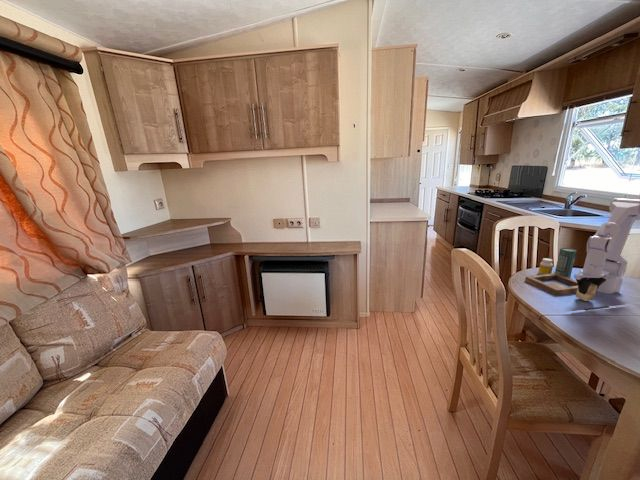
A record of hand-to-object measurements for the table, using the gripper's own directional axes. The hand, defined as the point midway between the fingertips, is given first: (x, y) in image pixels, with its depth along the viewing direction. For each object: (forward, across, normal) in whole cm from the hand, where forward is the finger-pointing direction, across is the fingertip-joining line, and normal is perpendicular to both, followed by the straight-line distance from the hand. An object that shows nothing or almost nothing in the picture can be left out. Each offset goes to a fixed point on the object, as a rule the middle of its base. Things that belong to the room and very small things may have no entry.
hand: (586, 292), depth 113 cm
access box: (+5, -2, -14) cm, 15 cm away
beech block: (+3, 0, 0) cm, 3 cm away
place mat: (+5, 0, 0) cm, 5 cm away
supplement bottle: (+5, -10, -28) cm, 30 cm away
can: (+5, -19, -26) cm, 32 cm away
